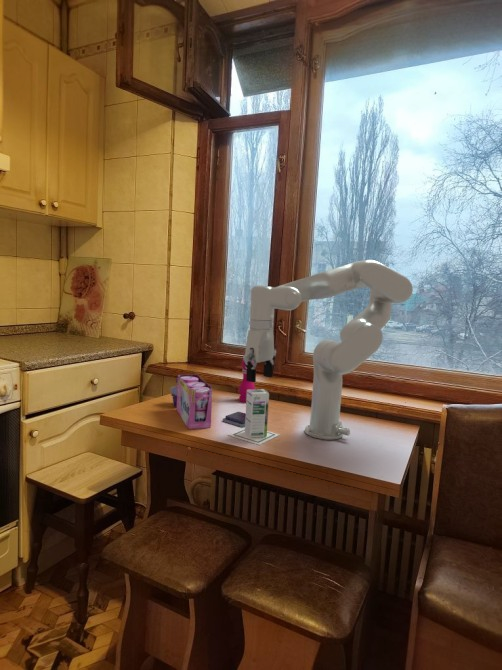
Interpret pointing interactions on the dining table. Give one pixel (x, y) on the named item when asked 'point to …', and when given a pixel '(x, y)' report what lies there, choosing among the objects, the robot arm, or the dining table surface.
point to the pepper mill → (245, 385)
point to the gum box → (194, 401)
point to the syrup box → (256, 413)
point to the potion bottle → (174, 393)
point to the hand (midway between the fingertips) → (259, 379)
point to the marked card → (255, 440)
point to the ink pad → (236, 419)
